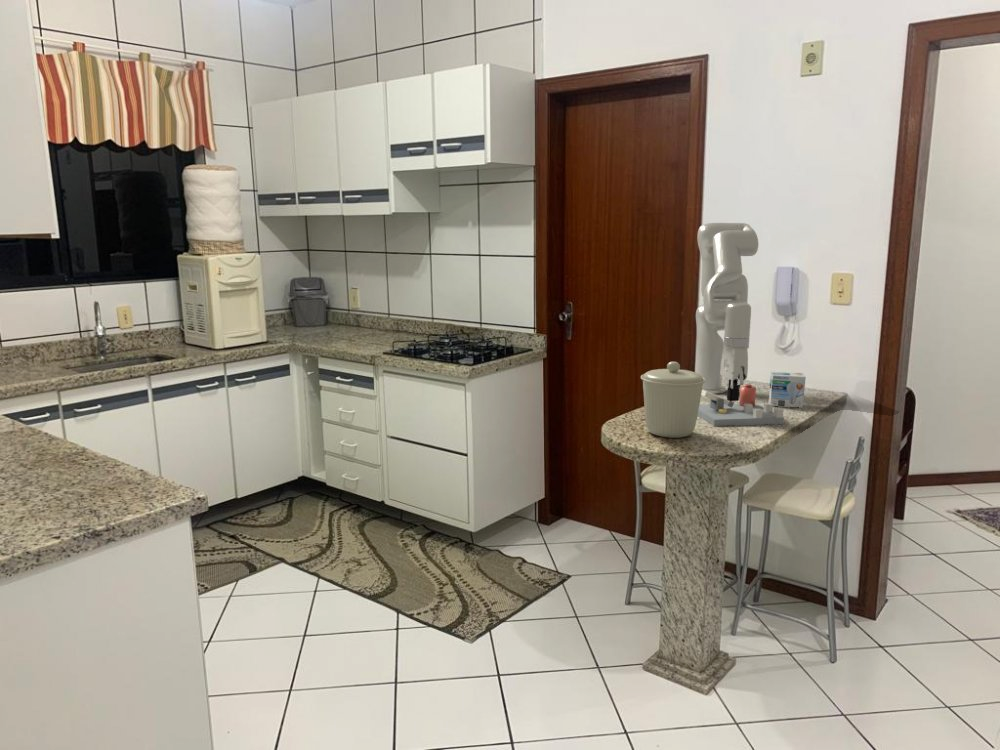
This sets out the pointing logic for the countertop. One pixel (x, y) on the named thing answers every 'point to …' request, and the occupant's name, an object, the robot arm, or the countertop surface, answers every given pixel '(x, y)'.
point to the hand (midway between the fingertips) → (732, 400)
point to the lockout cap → (747, 395)
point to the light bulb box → (787, 389)
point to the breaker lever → (714, 397)
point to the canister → (672, 400)
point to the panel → (739, 414)
